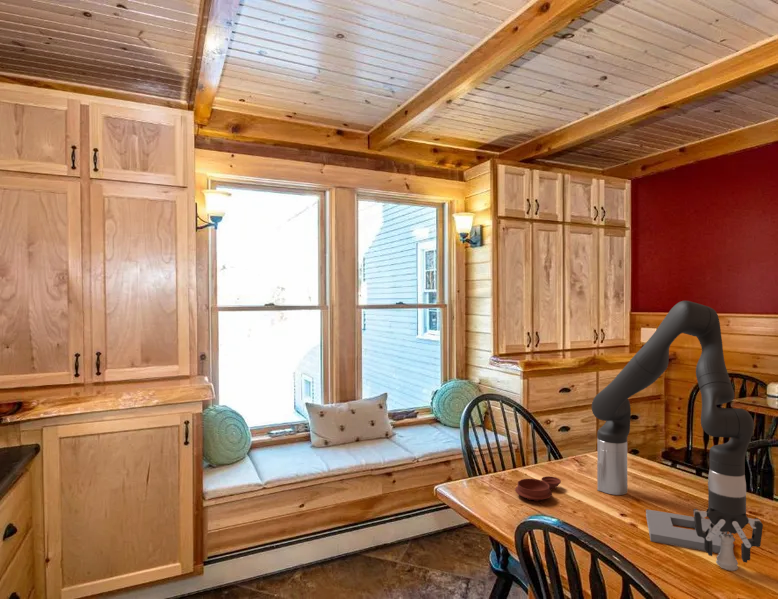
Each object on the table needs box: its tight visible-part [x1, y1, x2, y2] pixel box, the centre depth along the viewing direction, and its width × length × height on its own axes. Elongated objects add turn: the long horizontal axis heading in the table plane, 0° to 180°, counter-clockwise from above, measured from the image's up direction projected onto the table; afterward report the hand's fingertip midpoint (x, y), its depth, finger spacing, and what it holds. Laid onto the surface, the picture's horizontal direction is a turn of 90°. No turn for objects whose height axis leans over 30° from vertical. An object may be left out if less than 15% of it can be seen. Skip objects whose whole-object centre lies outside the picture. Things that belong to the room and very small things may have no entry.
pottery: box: [514, 476, 562, 502], centre depth 159 cm, size 12×20×4 cm, turn 131°
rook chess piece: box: [715, 532, 739, 572], centre depth 116 cm, size 4×4×8 cm
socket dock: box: [645, 509, 721, 554], centre depth 132 cm, size 18×16×2 cm
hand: (727, 557), depth 116 cm, fingers open, 6 cm apart
